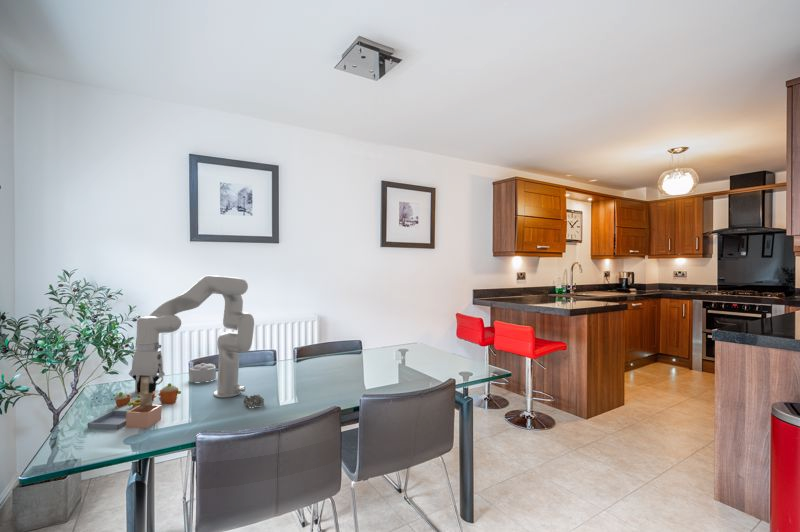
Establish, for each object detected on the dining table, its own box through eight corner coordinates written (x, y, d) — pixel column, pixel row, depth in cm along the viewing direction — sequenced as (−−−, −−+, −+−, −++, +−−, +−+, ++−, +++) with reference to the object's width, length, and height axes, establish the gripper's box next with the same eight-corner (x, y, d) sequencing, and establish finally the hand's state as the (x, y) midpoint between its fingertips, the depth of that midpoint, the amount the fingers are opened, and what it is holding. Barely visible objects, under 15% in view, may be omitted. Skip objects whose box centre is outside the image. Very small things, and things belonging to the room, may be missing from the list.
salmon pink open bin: (161, 421, 156) (161, 404, 156) (147, 430, 148) (148, 413, 148) (140, 420, 156) (141, 404, 156) (125, 429, 148) (126, 412, 148)
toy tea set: (176, 393, 189) (177, 374, 188) (184, 403, 177) (185, 383, 177) (111, 405, 171) (112, 384, 171) (116, 416, 159) (117, 394, 159)
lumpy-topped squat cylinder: (216, 381, 209) (216, 366, 209) (189, 384, 202) (190, 368, 202) (214, 376, 218) (214, 361, 218) (188, 379, 211) (189, 363, 211)
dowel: (153, 405, 154) (154, 374, 154) (147, 409, 150) (148, 377, 150) (144, 405, 154) (145, 374, 154) (137, 409, 150) (138, 377, 150)
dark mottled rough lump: (242, 402, 181) (242, 394, 181) (257, 399, 186) (258, 391, 186) (249, 410, 173) (249, 401, 173) (265, 406, 178) (265, 398, 178)
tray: (141, 418, 159) (141, 411, 158) (118, 432, 146) (118, 424, 145) (112, 417, 158) (112, 410, 158) (87, 430, 145) (87, 423, 145)
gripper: (173, 345, 156) (172, 389, 156) (133, 344, 155) (132, 387, 156) (162, 350, 148) (161, 395, 149) (120, 348, 148) (118, 394, 148)
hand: (146, 391), depth 152 cm, fingers closed on dowel, 4 cm apart
